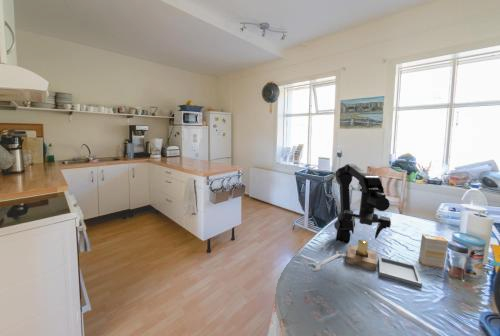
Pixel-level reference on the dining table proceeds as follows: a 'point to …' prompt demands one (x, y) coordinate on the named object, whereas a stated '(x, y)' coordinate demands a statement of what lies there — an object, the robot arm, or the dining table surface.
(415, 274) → the tray
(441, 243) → the supplement box
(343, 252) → the wrench
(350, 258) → the pin block
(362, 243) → the brass pin
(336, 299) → the dining table surface
